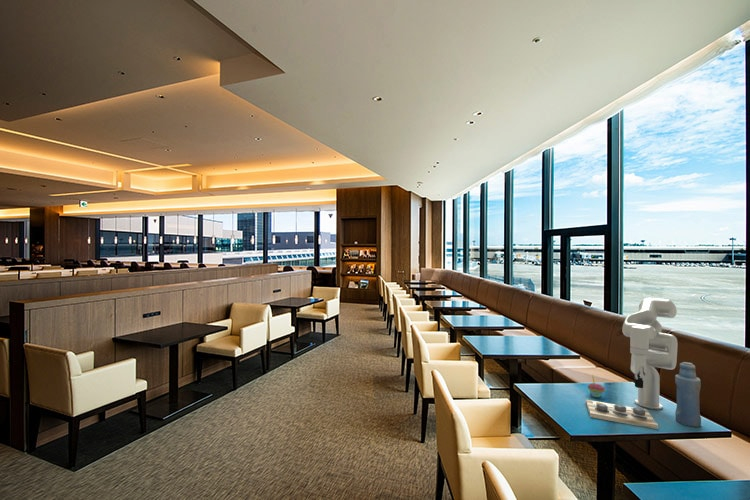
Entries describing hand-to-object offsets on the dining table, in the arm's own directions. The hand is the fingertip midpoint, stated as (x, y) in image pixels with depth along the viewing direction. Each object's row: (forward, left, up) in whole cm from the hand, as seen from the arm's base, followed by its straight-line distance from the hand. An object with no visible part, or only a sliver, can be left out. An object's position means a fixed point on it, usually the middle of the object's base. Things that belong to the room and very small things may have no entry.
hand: (638, 387), depth 181 cm
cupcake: (-29, -15, -17) cm, 37 cm away
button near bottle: (0, 0, -13) cm, 13 cm away
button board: (-3, -8, -17) cm, 19 cm away
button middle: (0, -8, -13) cm, 15 cm away
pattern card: (-9, -8, -15) cm, 19 cm away
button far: (0, -16, -14) cm, 21 cm away
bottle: (-9, +22, -17) cm, 29 cm away
